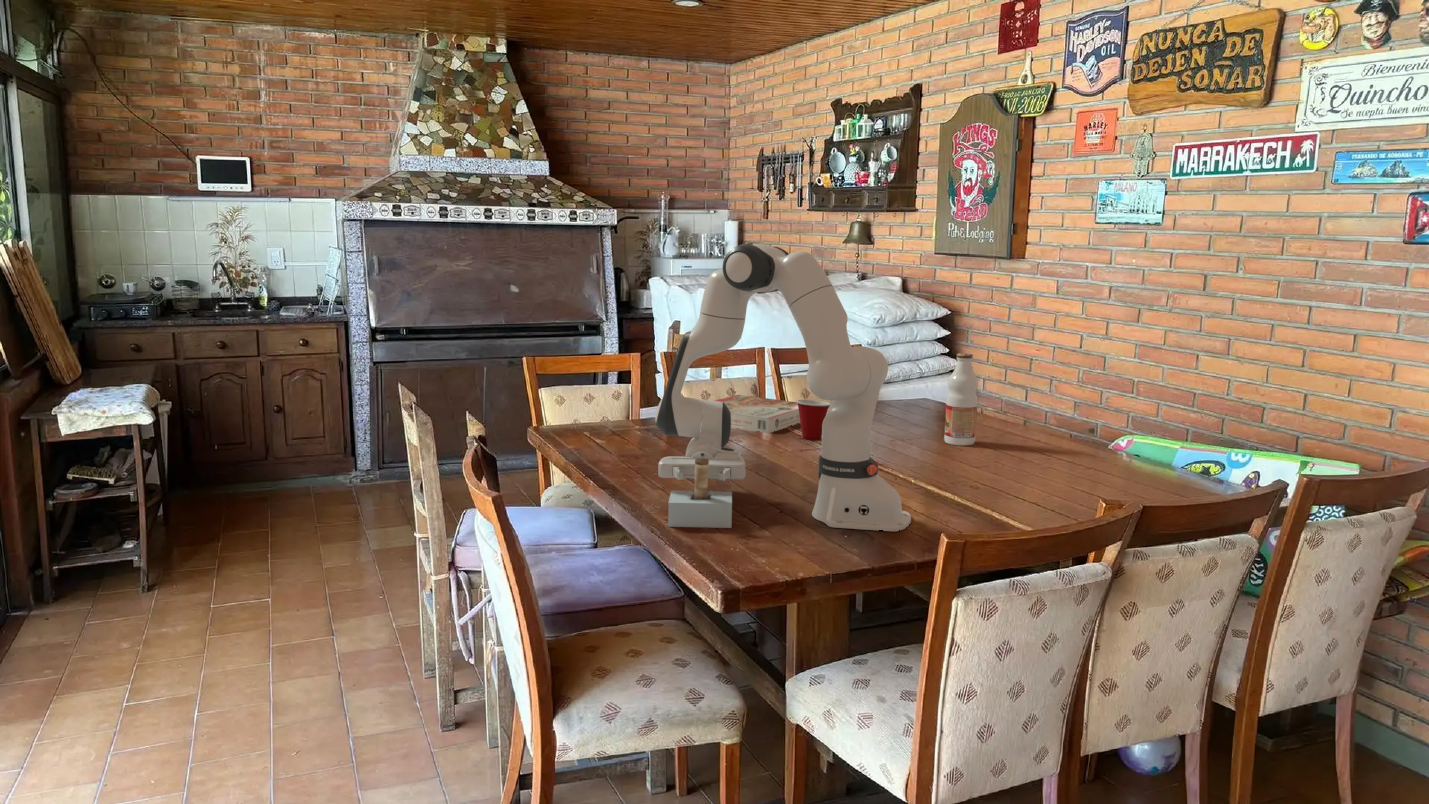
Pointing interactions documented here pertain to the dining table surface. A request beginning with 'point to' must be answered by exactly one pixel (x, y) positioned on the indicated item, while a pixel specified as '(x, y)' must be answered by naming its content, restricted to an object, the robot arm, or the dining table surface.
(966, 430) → the fruit juice
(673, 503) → the socket block
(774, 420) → the pizza box
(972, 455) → the dining table surface
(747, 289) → the robot arm
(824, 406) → the plastic cup
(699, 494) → the dowel pin
